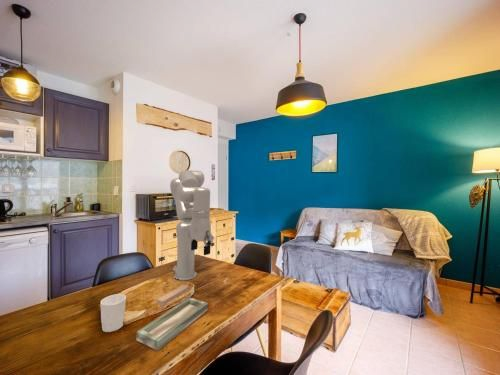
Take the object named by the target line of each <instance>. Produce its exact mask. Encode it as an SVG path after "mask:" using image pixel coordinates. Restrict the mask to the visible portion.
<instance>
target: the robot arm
mask: <svg viewBox="0 0 500 375" xmlns="http://www.w3.org/2000/svg"><path fill="white" fill-rule="evenodd" d="M204 182H205V174H204V173H203V172H202V171H201V170H188V169H186V170H182V171H181V172H179V174H178V177H176V178H172V179H171V181H170V184H169V188H170V194H171V196H172V198H173V200H174V202H175V203H174V204H175V210H176V217H177V219H178V220H179V221H180V222H178V223H177V224H176V227H175V231H176V232H175V233H176V238H177V239H176V240H177V241H176V242H177V247H176V248H177V251H176V253H177V255H176V256H177V257H176V265H174V266H173V268H172V271H174V272H175V273H174V275H173V278H174V279H175V278H176V279H175V280H177V279H179V280H178V281H191V280H192V279H195V278H196V277H197V276H198V273H197V271H195V251H196V250H198V245H199V244H198V243H199V242H203V244H204V246H203V255H204V256H208V255H211V246H212V244H213V241H214V239H215V237H214V236H213V235H212V232H211V229H212V228H211V218H210V215H211V213H210V212H211V211H210V210H211V190H210V188H208V187H204V186H203V185H204ZM202 186H203V187H202ZM191 203H192V204H191Z"/></svg>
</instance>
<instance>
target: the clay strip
mask: <svg viewBox="0 0 500 375" xmlns="http://www.w3.org/2000/svg"><path fill="white" fill-rule="evenodd" d="M187 290H189V291H190V286H189V285H186V284H183V285H180V286H178V287H177V288H175V289H173V290H172V291H169V292H168V293H166V294H164V295H163V296H160V297H159V298H156V305H157V304H160V305H162V310H161V311H164V310H165V309H164V306H165V305H166V304H167V303H168V302H170V301H171V300H173V299H175V298H177V297H179V296H180V295H182V294H183V293H185V292H186V291H187Z"/></svg>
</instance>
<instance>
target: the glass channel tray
mask: <svg viewBox="0 0 500 375" xmlns="http://www.w3.org/2000/svg"><path fill="white" fill-rule="evenodd" d="M208 310H209V303H208V302H205V301H202V300H199V299H196V298H193V297H188V298H186V299H184V300H182V302H180V303H178V304H177V305H175V306H173V307H172V308H171V309H169V310H167V311H166V312H164V313H163V314H161V315H160V316H158V317H157V318H155V319H154V320H152V321H151V322H149V323H147V324H146V325H144V326H143V327H141V328H140V329H139V330H137V331H136V334H135V335H136V338H135V340H136V341H137V342H138V343H141V344H143V345H145V346H147V347H149V348H151V349H153V350H155V351H157V352H158V351H159V350H161V349H162V348H163V347H165V345H167V344H168V343H169V342H171V340H173V339H174V338H175V337H177V336H178V335H179V334H180V333H182V332H183V331H184V330H186V329H187V328H188V327H189V326H190V325H191V324H193V323H194V322H195V321H197V319H199V318H200V317H201V316H202V315H204V314H205V313H207V311H208Z"/></svg>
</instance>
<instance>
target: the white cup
mask: <svg viewBox="0 0 500 375" xmlns="http://www.w3.org/2000/svg"><path fill="white" fill-rule="evenodd" d="M126 299H127V296H126V295H125V294H122V293H117V294H116V293H115V294H111V295H109V296H106V297H104V298H102V299H101V300H100V322H101V330H102V331H103V332H104V333H111V332H115V331H118V330H120V329H121V328H122V327H123V326H124V324H123V319H124V320H125V314H126V313H125V312H126V302H127V301H126Z"/></svg>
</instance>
